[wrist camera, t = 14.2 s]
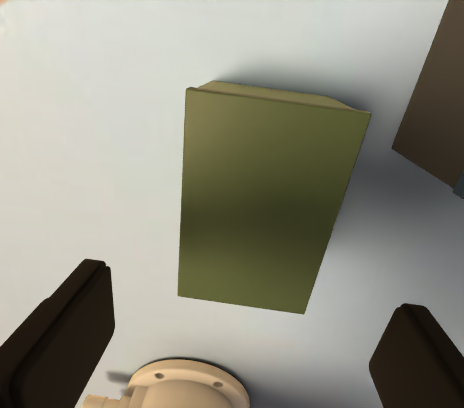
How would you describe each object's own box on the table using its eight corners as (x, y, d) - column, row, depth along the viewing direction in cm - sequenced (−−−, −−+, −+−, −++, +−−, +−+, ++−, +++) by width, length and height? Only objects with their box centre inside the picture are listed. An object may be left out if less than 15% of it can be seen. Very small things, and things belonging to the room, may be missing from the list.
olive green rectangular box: (291, 247, 20) (304, 315, 15) (198, 233, 20) (177, 296, 15) (331, 94, 15) (372, 113, 10) (209, 78, 15) (185, 87, 10)
